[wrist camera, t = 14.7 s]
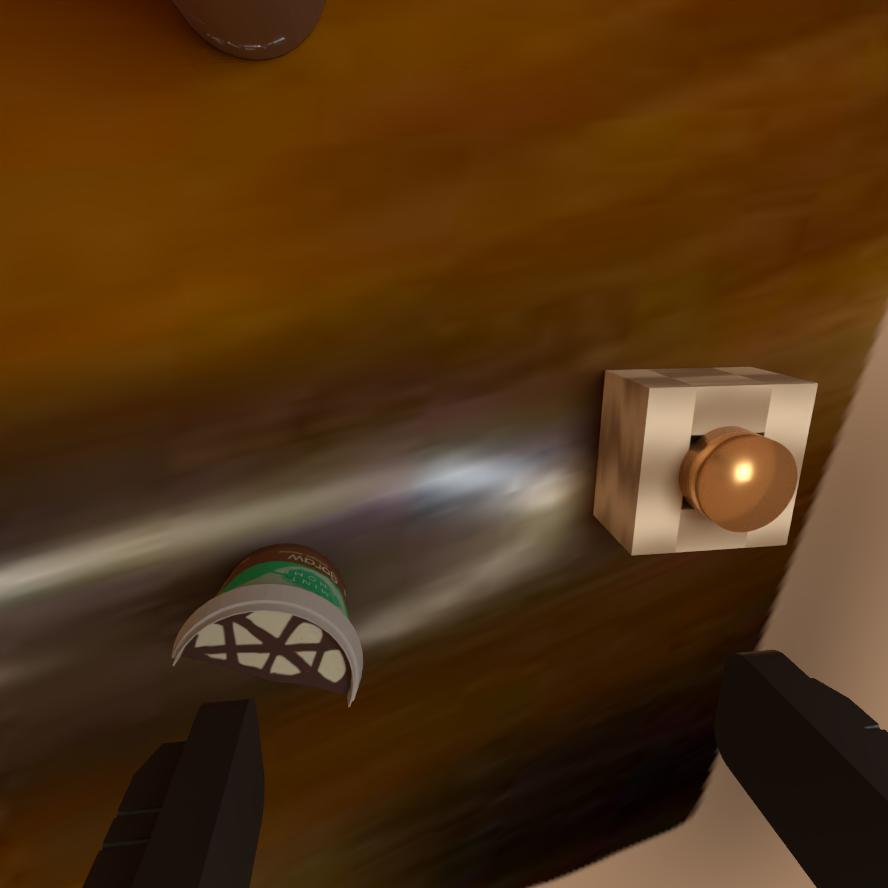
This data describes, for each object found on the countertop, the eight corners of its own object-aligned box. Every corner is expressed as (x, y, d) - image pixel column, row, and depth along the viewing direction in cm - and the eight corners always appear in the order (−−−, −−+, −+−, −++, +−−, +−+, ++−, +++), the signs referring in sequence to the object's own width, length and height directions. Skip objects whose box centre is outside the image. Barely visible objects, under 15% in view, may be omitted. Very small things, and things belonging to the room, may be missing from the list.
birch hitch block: (605, 370, 43) (649, 388, 36) (750, 366, 44) (817, 383, 38) (593, 514, 46) (631, 555, 40) (727, 507, 48) (786, 544, 41)
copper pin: (639, 405, 44) (711, 440, 35) (715, 403, 44) (806, 436, 35) (631, 482, 46) (697, 535, 36) (704, 479, 46) (788, 529, 37)
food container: (385, 556, 45) (391, 631, 35) (358, 619, 46) (357, 709, 37) (231, 508, 42) (192, 577, 33) (207, 578, 43) (163, 663, 34)
